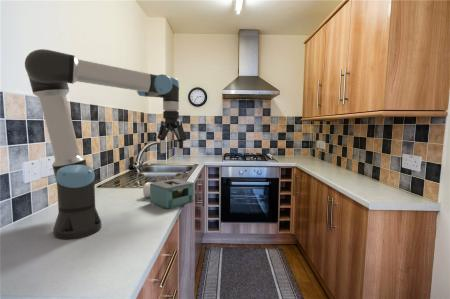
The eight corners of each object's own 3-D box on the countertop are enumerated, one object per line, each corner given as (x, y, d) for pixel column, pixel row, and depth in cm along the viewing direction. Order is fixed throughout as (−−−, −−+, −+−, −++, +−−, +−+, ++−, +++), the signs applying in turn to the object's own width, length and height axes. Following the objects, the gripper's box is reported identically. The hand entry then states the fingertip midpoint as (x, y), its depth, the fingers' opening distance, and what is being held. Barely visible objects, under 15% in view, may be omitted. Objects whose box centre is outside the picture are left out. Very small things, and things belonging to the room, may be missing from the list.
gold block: (178, 201, 127) (183, 188, 126) (174, 201, 124) (178, 188, 123) (171, 196, 130) (176, 183, 129) (167, 196, 128) (171, 183, 127)
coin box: (167, 209, 117) (166, 188, 116) (150, 203, 126) (150, 183, 125) (193, 202, 129) (193, 182, 128) (176, 196, 138) (176, 178, 137)
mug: (160, 200, 131) (160, 185, 131) (143, 199, 133) (142, 184, 133) (170, 194, 143) (169, 180, 142) (153, 193, 145) (153, 179, 144)
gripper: (193, 110, 118) (193, 155, 120) (162, 111, 134) (163, 151, 136) (181, 109, 112) (181, 157, 114) (150, 111, 129) (150, 152, 131)
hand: (171, 154), depth 125 cm, fingers open, 13 cm apart
